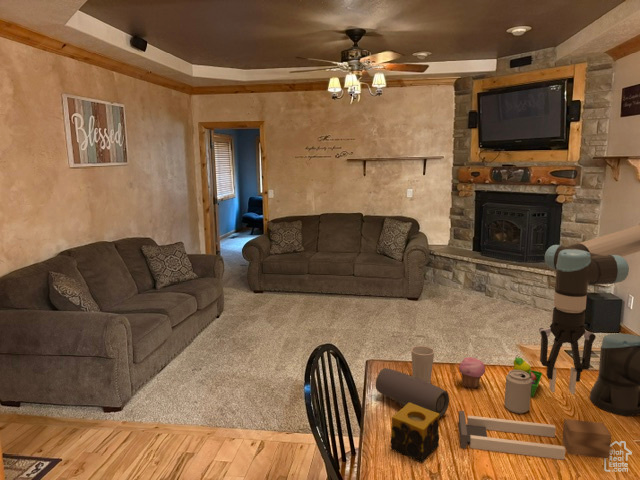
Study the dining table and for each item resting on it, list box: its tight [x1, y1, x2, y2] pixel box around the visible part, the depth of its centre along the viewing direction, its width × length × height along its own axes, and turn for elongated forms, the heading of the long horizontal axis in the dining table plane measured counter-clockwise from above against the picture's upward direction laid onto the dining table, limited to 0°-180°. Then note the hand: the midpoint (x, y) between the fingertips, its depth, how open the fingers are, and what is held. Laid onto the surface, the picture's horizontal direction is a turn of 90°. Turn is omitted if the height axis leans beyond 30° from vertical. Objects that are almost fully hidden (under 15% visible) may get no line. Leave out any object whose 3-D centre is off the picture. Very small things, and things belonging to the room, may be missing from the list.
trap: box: [458, 410, 488, 449], centre depth 138 cm, size 8×13×4 cm, turn 167°
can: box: [503, 369, 532, 414], centre depth 152 cm, size 8×8×12 cm
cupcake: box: [458, 356, 486, 389], centre depth 168 cm, size 9×9×10 cm
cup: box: [410, 345, 435, 384], centre depth 170 cm, size 8×8×12 cm
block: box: [561, 418, 612, 460], centre depth 131 cm, size 10×6×7 cm, turn 77°
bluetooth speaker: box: [375, 367, 450, 418], centre depth 154 cm, size 23×9×10 cm, turn 44°
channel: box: [466, 415, 566, 460], centre depth 136 cm, size 24×12×3 cm, turn 77°
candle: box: [390, 403, 440, 463], centre depth 133 cm, size 10×10×10 cm
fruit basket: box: [513, 356, 543, 398], centre depth 165 cm, size 11×9×11 cm
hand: (561, 390), depth 131 cm, fingers open, 4 cm apart
